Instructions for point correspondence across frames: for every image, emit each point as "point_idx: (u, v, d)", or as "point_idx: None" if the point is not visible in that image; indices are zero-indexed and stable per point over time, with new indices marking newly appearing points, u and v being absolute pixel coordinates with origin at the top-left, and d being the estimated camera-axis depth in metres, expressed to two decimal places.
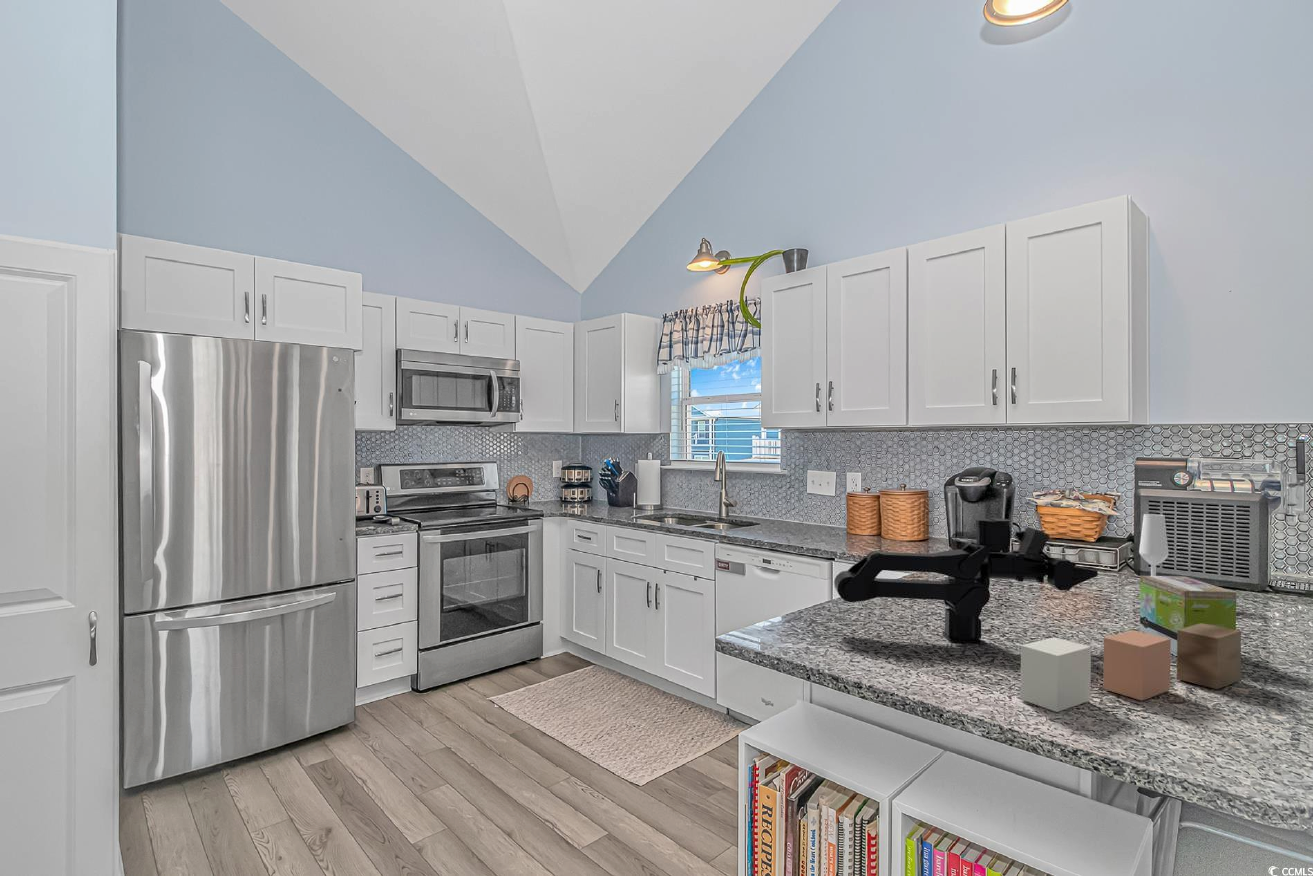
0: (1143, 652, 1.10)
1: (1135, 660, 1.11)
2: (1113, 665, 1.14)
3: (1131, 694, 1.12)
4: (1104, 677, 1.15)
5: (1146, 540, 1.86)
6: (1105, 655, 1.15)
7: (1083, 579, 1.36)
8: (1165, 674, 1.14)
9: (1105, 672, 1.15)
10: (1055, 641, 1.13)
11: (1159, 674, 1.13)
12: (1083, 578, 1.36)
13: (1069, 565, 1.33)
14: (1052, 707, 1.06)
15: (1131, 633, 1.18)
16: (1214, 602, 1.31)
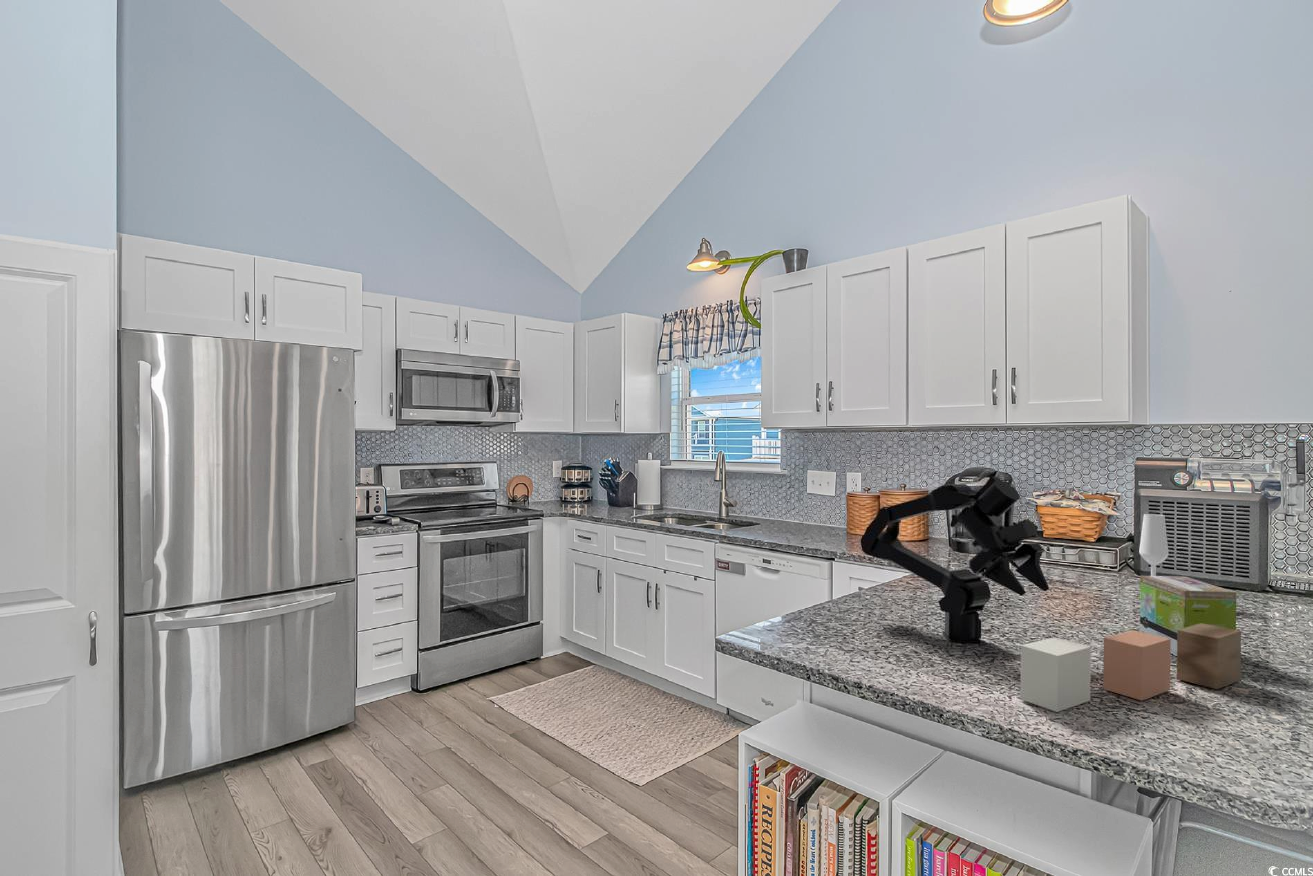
0: (1143, 652, 1.10)
1: (1135, 660, 1.11)
2: (1113, 665, 1.14)
3: (1131, 694, 1.12)
4: (1104, 677, 1.15)
5: (1146, 540, 1.86)
6: (1105, 655, 1.15)
7: (1005, 584, 1.31)
8: (1165, 674, 1.14)
9: (1105, 672, 1.15)
10: (1055, 641, 1.13)
11: (1159, 674, 1.13)
12: (1006, 584, 1.31)
13: (990, 558, 1.30)
14: (1052, 707, 1.06)
15: (1131, 633, 1.18)
16: (1214, 602, 1.31)
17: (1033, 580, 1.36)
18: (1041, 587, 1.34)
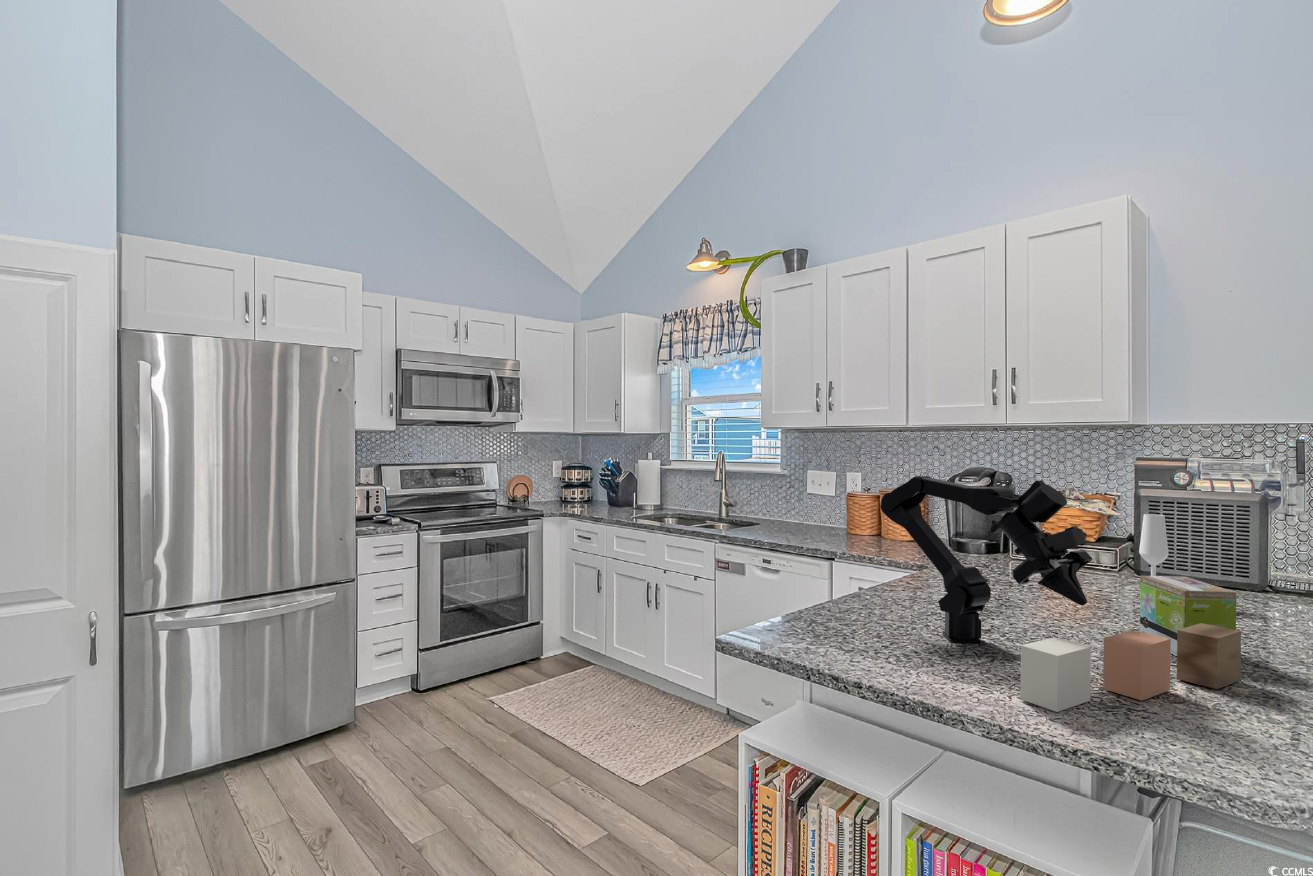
0: (1143, 652, 1.10)
1: (1135, 660, 1.11)
2: (1113, 665, 1.14)
3: (1131, 694, 1.12)
4: (1104, 677, 1.15)
5: (1146, 540, 1.86)
6: (1105, 655, 1.15)
7: (1063, 593, 1.25)
8: (1165, 674, 1.14)
9: (1105, 672, 1.15)
10: (1055, 641, 1.13)
11: (1159, 674, 1.13)
12: (1065, 593, 1.25)
13: (1036, 568, 1.22)
14: (1052, 707, 1.06)
15: (1131, 633, 1.18)
16: (1214, 602, 1.31)
17: None
18: None
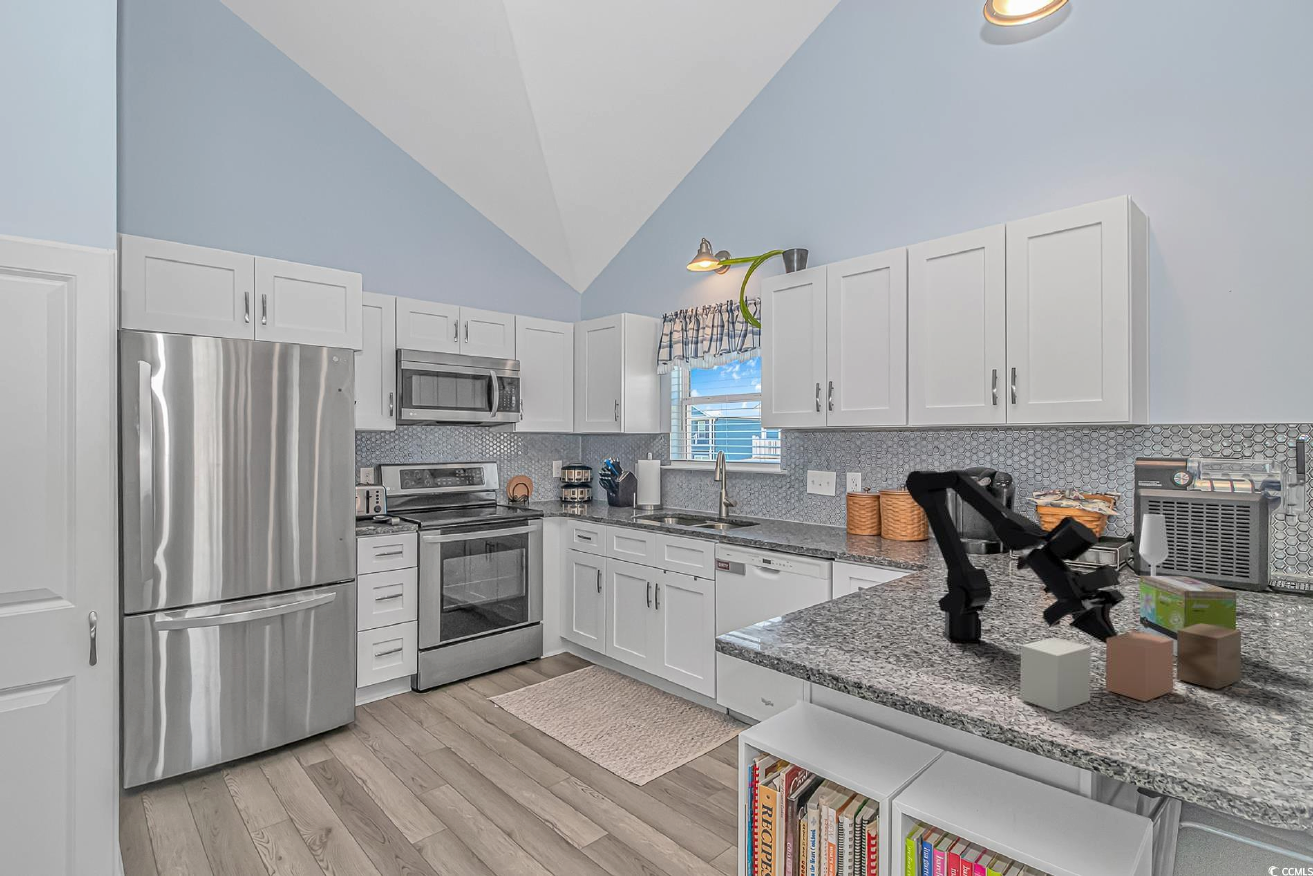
0: (1145, 653, 1.10)
1: (1138, 660, 1.11)
2: (1115, 665, 1.14)
3: (1133, 695, 1.11)
4: (1107, 678, 1.15)
5: (1146, 540, 1.86)
6: (1108, 656, 1.15)
7: (1096, 636, 1.20)
8: (1168, 675, 1.14)
9: (1108, 673, 1.15)
10: (1055, 641, 1.13)
11: (1162, 675, 1.13)
12: (1098, 636, 1.20)
13: (1069, 610, 1.17)
14: (1052, 707, 1.06)
15: (1134, 634, 1.18)
16: (1214, 602, 1.31)
17: None
18: None
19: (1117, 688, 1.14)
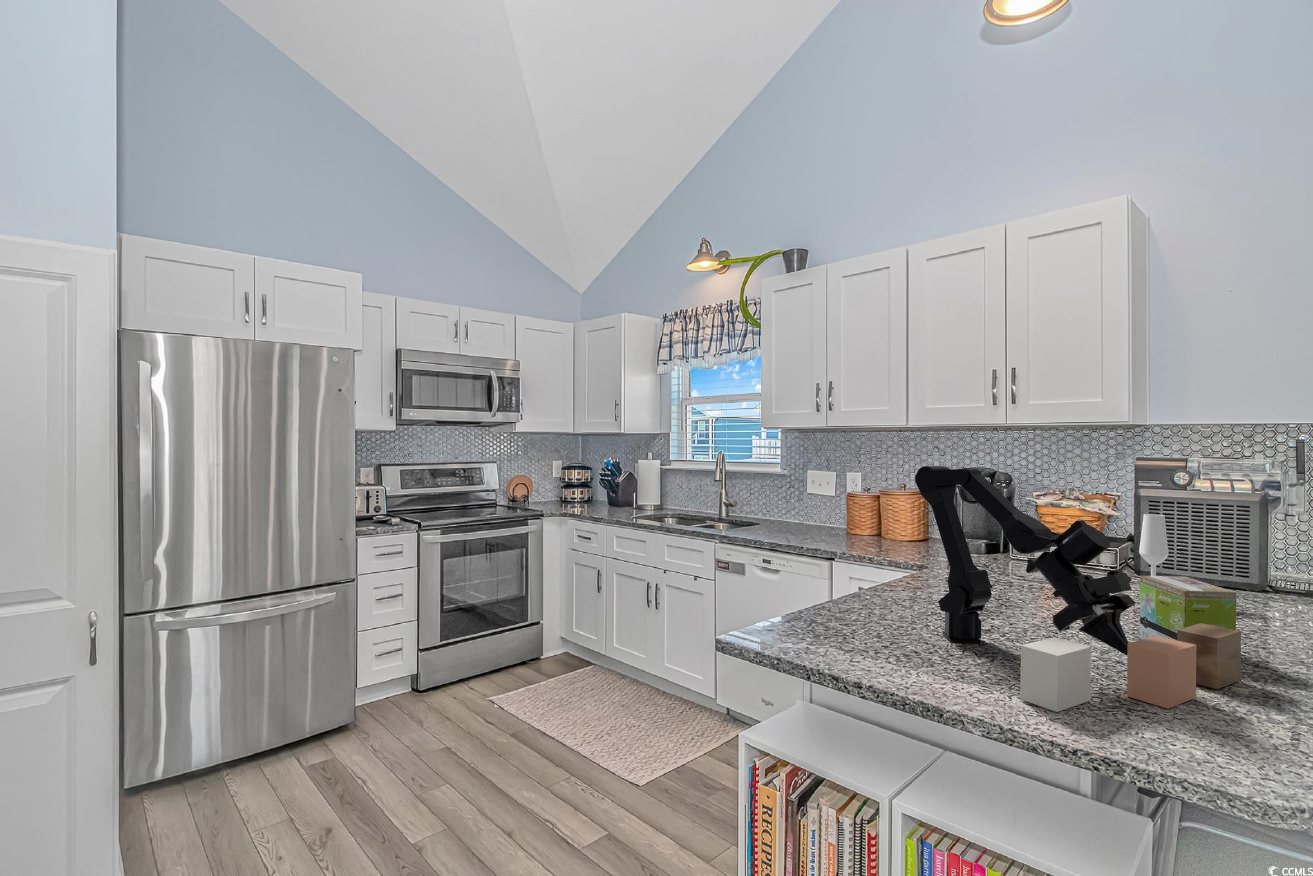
0: (1169, 659, 1.07)
1: (1161, 666, 1.08)
2: (1137, 671, 1.11)
3: (1156, 702, 1.08)
4: (1128, 684, 1.12)
5: (1146, 540, 1.86)
6: (1129, 661, 1.12)
7: (1106, 641, 1.19)
8: (1191, 681, 1.11)
9: (1129, 679, 1.12)
10: (1055, 641, 1.13)
11: (1185, 681, 1.10)
12: (1108, 641, 1.18)
13: (1079, 615, 1.15)
14: (1052, 707, 1.06)
15: (1155, 639, 1.15)
16: (1214, 602, 1.31)
17: None
18: None
19: (1139, 695, 1.11)
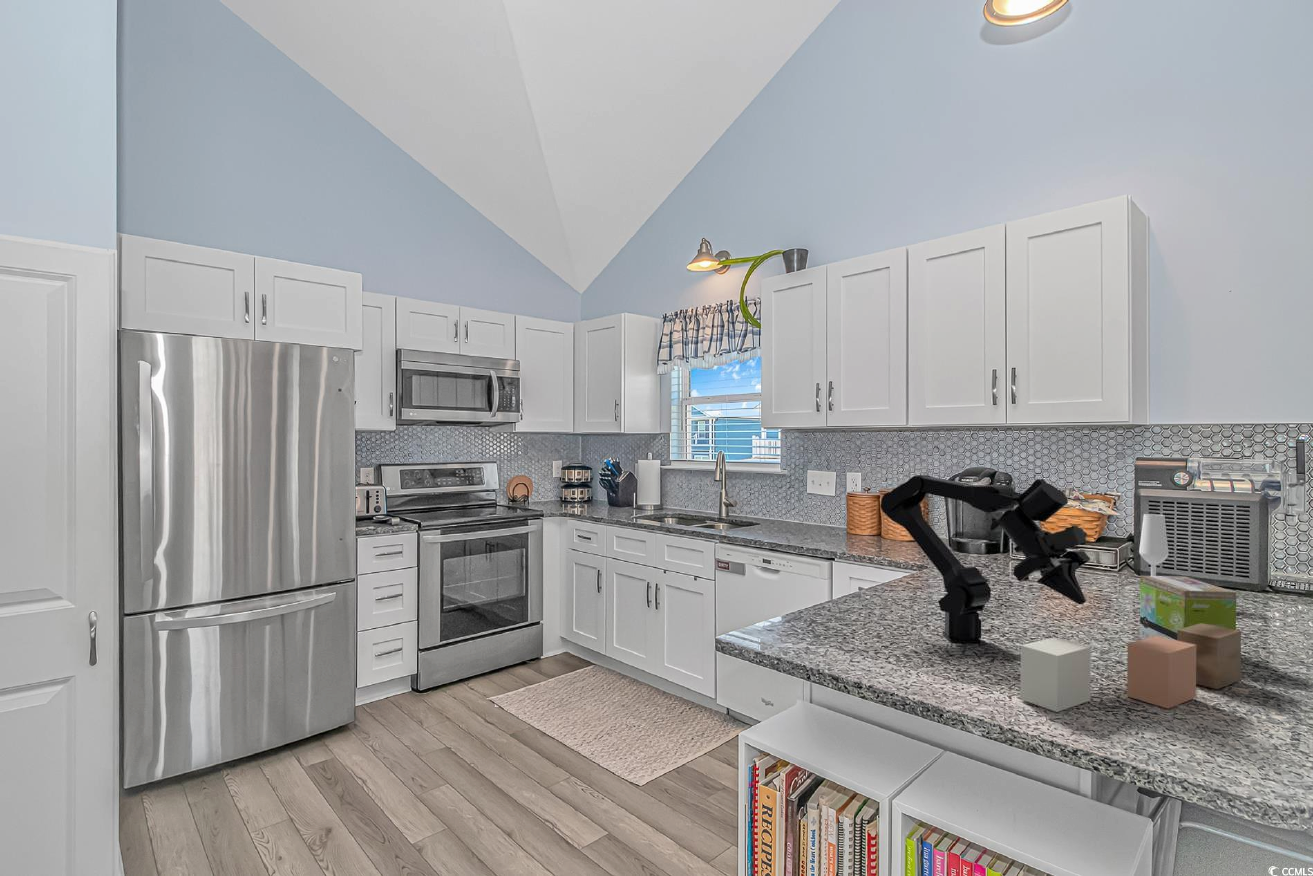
0: (1169, 659, 1.07)
1: (1161, 666, 1.08)
2: (1137, 671, 1.11)
3: (1156, 702, 1.08)
4: (1128, 684, 1.12)
5: (1146, 540, 1.86)
6: (1129, 661, 1.12)
7: (1062, 592, 1.25)
8: (1191, 681, 1.11)
9: (1129, 679, 1.12)
10: (1055, 641, 1.13)
11: (1185, 681, 1.10)
12: (1063, 592, 1.25)
13: (1038, 565, 1.22)
14: (1052, 707, 1.06)
15: (1155, 639, 1.15)
16: (1214, 602, 1.31)
17: None
18: None
19: (1139, 695, 1.11)
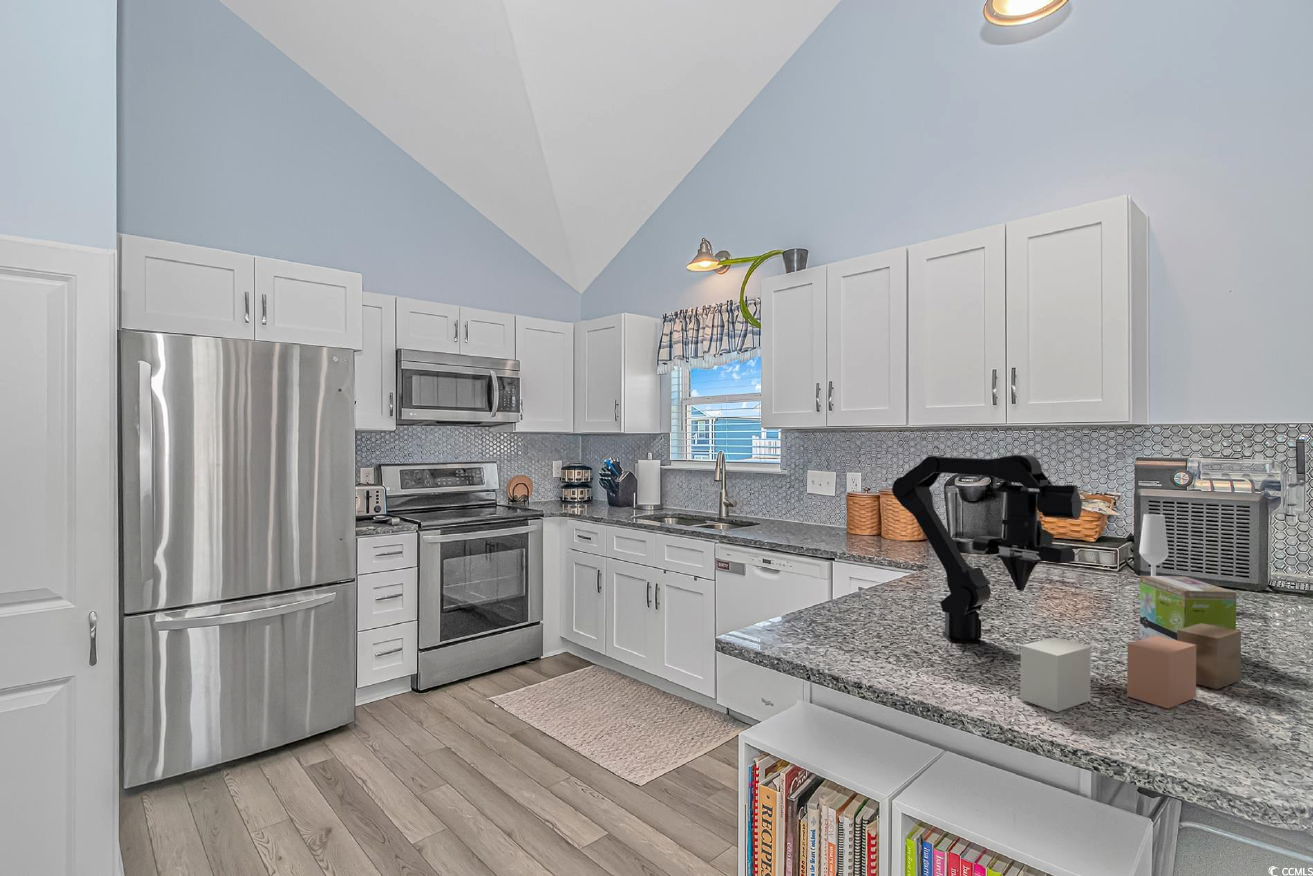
0: (1169, 659, 1.07)
1: (1161, 666, 1.08)
2: (1137, 671, 1.11)
3: (1156, 702, 1.08)
4: (1128, 684, 1.12)
5: (1146, 540, 1.86)
6: (1129, 661, 1.12)
7: (1023, 576, 1.34)
8: (1191, 681, 1.11)
9: (1129, 679, 1.12)
10: (1055, 641, 1.13)
11: (1185, 681, 1.10)
12: (1024, 576, 1.34)
13: (1073, 560, 1.29)
14: (1052, 707, 1.06)
15: (1155, 639, 1.15)
16: (1214, 602, 1.31)
17: (1016, 576, 1.36)
18: (1018, 585, 1.36)
19: (1139, 695, 1.11)
